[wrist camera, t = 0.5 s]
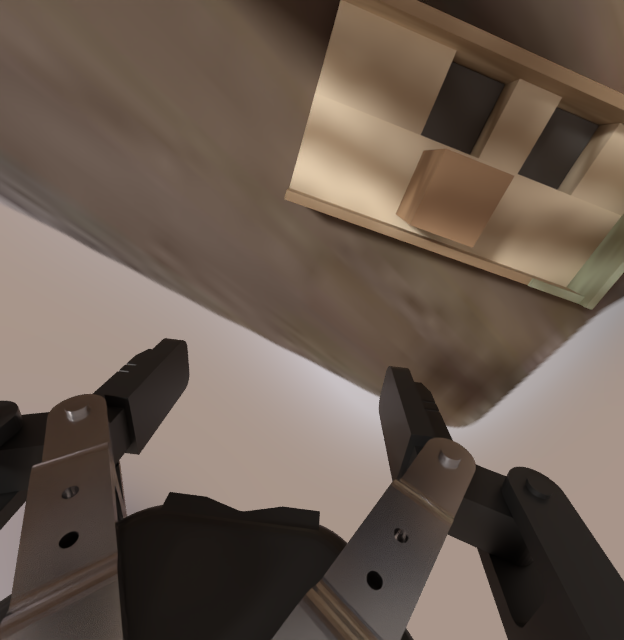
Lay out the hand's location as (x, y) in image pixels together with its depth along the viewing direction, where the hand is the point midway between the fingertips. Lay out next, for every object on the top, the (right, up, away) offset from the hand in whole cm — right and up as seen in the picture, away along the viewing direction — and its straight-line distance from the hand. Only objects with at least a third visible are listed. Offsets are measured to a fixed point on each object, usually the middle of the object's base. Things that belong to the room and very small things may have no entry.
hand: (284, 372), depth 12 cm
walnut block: (+11, +13, +13) cm, 21 cm away
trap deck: (+14, +15, +14) cm, 25 cm away
